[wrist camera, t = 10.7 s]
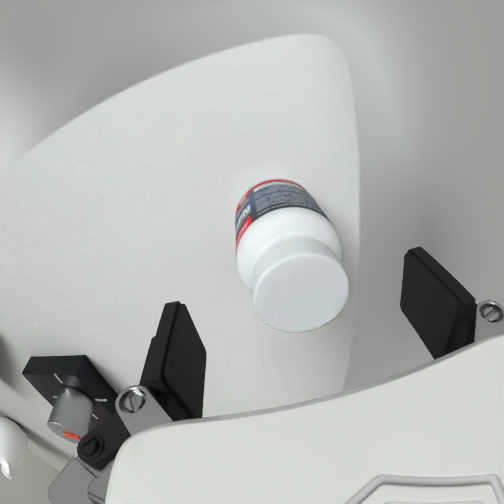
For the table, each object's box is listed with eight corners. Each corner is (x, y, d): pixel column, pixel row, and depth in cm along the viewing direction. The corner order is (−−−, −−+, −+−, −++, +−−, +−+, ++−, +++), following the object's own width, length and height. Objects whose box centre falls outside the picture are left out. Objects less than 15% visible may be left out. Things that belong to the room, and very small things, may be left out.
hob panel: (29, 354, 25) (19, 372, 22) (92, 352, 25) (82, 375, 22) (89, 418, 32) (84, 435, 29) (152, 421, 31) (148, 441, 28)
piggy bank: (-4, 402, 33) (-26, 454, 20) (38, 433, 38) (22, 486, 25) (-11, 409, 36) (-29, 454, 23) (25, 436, 41) (11, 481, 28)
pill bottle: (232, 179, 18) (230, 240, 10) (313, 174, 18) (373, 230, 10) (238, 253, 20) (242, 348, 12) (312, 248, 20) (354, 335, 12)
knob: (74, 407, 25) (63, 442, 21) (53, 385, 23) (38, 422, 18) (102, 410, 25) (91, 448, 20) (81, 387, 23) (66, 428, 18)
